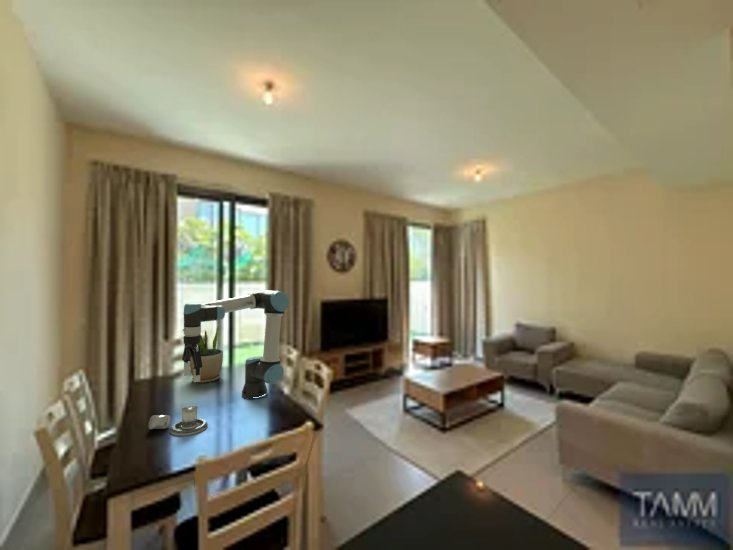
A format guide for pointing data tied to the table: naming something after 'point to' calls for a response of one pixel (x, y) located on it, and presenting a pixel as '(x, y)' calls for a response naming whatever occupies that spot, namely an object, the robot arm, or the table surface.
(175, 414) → the table surface
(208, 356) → the potted plant
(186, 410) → the knob
